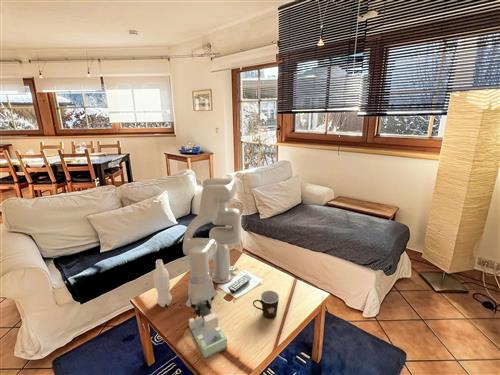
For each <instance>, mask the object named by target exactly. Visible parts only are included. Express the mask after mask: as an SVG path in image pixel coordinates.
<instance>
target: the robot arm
mask: <svg viewBox="0 0 500 375" xmlns="http://www.w3.org/2000/svg"><path fill="white" fill-rule="evenodd" d="M237 185H238V184H237V180H235V179H234V178H226V177H225V178H222V177H220V178H219V177H217V178H216V177H215V178H214V177H213V178H212V177H211V178H206V179H204V180H203V181H202V191H201V195H200V196H201V197H200V201H199V202H200V203H199V209H198V214H197V215H196V216H195V217H194V218H193V219H192V220H191V221H190V223H188V225H187V227H186V229H185V232H184V235H183V236H184V237H183V243H182V251H183V252H182V253H183V254H184V255H185V256H188V262H189V273H190V278H189V280H188V290H187V291H188V292H187V294H188V299H187V300H186V302H185V306H186V307H189V308H192V309H194V313H195V316H197V317H198V318H201V315H200V309H199V303H200V302H203V301H204V302H205V304H206V305H207V307H208V308H209V310H210V312H211V310H212V303H213V301H214V299H215V298H216V297H217V296H218V295H219V294H218V291H217V290H216V289H215V288H214V283H216V284H227V283H229V282H230V281H232V280H233V279H234V272H237V271H238V270H239V268H238V266H236V267H235V266H234V265H233V266H231V261H230V260H231V259H230V257H231V256H230V248H229V245H230V246H231V245H233V246H234V245H239V244H240V243H241V242H242V216H241V211H240V209H239V208H236V207H228V205H227V204H228V203H231V202H232V201H233V199H234V197H235V194H236V192H237V188H238V186H237ZM209 223H212V224H213V225H215V226H214V227H212V228H211V229H210V231H209V232H208V233H209V234H208V235H209V236H208V237H209V238H208V237H205V238H204V237H193V236H194V234H195V233H196V231H197V230H198V229H199V228H200V227H202V226H204V225H207V224H209ZM211 258H212V266H213V269H212V268H211V269H210V263H209V260H210V259H211ZM231 279H232V280H231ZM213 282H214V283H213ZM211 313H212V312H211Z"/></svg>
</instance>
